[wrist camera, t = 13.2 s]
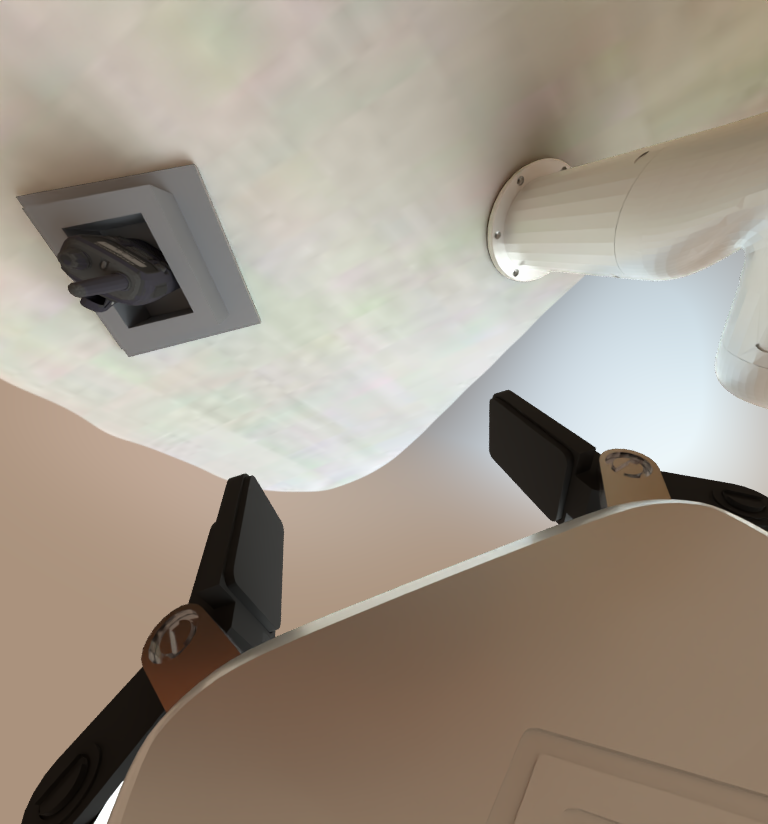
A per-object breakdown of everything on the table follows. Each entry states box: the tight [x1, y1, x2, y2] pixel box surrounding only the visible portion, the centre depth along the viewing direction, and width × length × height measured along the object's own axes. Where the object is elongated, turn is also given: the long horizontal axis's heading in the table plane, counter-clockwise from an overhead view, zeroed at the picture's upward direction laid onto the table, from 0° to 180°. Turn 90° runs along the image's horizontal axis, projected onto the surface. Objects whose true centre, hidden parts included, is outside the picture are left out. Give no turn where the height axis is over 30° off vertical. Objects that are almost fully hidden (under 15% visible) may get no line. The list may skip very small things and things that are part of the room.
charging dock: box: [16, 164, 261, 357], centre depth 26 cm, size 14×14×6 cm
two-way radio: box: [57, 234, 181, 312], centre depth 22 cm, size 6×4×15 cm
